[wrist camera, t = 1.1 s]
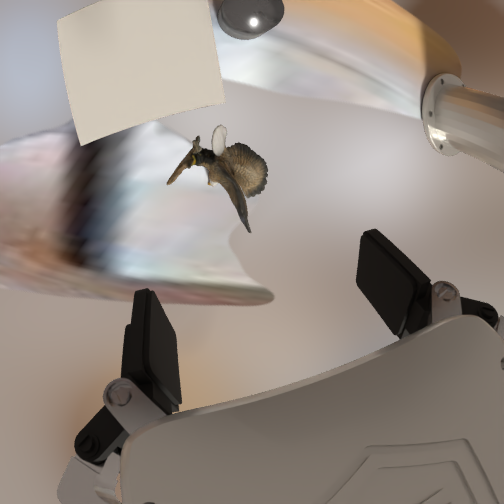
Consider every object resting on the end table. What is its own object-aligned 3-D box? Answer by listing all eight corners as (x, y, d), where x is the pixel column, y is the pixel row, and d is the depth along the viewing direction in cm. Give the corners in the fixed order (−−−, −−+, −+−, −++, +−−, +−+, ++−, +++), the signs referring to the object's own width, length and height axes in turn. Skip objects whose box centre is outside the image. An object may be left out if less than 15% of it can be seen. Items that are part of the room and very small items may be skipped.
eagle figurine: (162, 194, 25) (239, 239, 28) (168, 172, 19) (269, 233, 21) (200, 135, 27) (270, 179, 30) (219, 101, 20) (305, 159, 23)
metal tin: (266, -4, 17) (279, -17, 14) (273, 37, 20) (288, 30, 17) (214, -1, 16) (219, -15, 13) (221, 42, 19) (228, 34, 16)
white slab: (200, -15, 15) (203, -26, 13) (221, 101, 23) (225, 102, 20) (68, 26, 14) (56, 20, 11) (91, 139, 21) (80, 145, 19)
